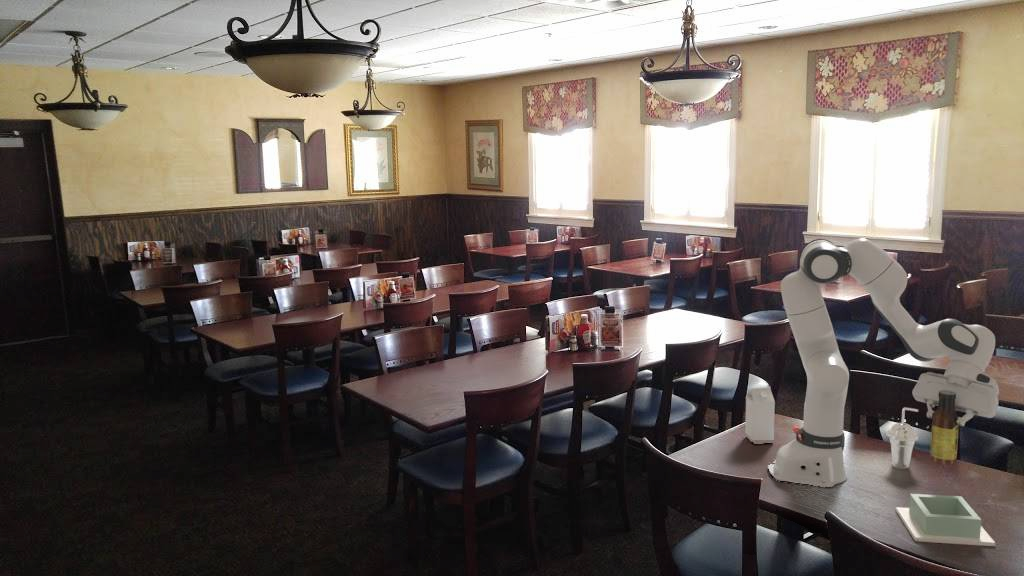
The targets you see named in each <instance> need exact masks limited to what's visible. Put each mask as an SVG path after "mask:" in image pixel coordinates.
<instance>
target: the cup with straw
mask: <svg viewBox="0 0 1024 576" xmlns="http://www.w3.org/2000/svg"><path fill="white" fill-rule="evenodd" d="M905 411H911V412H916V413H917V412H918V413H919V412H920V409H917V408H912V407H903V408H902V411H901V422H897V423H895V424H893V425H892V426H891V428H890V429H888V431H887V433H886V435H887V437H889V443H890V449H891V452H890V453H891V462H892V466H893V467H894V468H897V469H900V470H901V469H902V470H903V469H904V470H905V469H906V468H907V469H909V468H910V467H909V465H910V462H911V458H912V454H913V453H912V452H913V448H914V445H915V443H916V442H915V441H917V440H919V437H918V433H916V432H915V429H914V428H913V427H912V426H911V424H908V423H906V422H905V413H906V412H905ZM908 467H909V468H908Z"/></svg>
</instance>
